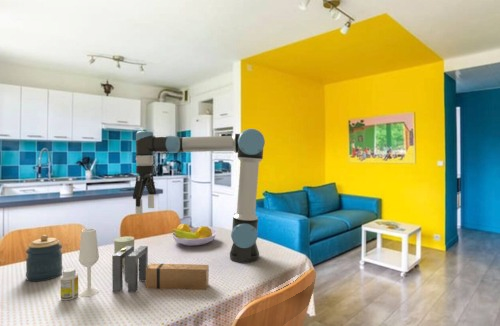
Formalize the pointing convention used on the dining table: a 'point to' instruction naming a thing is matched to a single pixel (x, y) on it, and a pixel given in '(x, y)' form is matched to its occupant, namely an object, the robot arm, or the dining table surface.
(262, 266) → the dining table surface
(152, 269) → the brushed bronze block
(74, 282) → the supplement bottle
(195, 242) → the fruit bowl
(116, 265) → the collar
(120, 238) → the can
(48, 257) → the canister
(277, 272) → the dining table surface
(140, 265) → the collar
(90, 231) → the champagne flute
